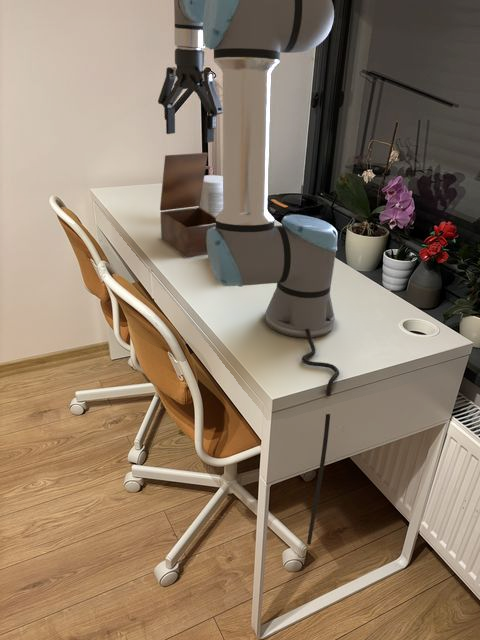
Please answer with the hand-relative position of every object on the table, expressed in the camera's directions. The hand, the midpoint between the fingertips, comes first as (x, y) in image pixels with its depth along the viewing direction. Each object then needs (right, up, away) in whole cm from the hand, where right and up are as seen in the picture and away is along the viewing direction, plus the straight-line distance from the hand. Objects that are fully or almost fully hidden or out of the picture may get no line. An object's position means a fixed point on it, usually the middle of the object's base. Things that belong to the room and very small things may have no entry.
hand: (189, 137), depth 149 cm
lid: (-2, -11, +6) cm, 12 cm away
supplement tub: (+4, -18, +27) cm, 32 cm away
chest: (0, -27, +11) cm, 29 cm away
